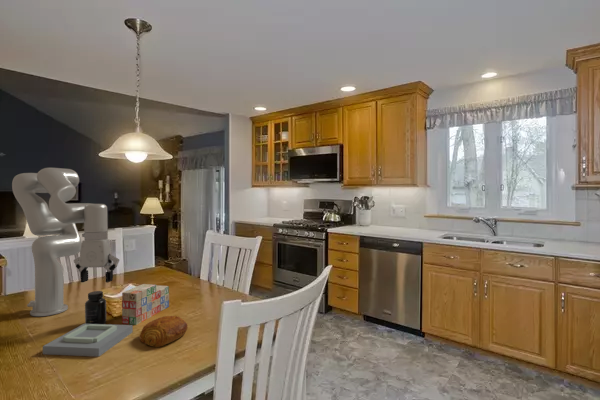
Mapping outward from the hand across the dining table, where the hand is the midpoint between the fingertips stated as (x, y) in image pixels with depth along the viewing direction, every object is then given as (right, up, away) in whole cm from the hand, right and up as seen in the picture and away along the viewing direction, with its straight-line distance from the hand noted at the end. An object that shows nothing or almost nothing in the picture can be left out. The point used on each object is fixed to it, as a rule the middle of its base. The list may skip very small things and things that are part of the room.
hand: (96, 281), depth 125 cm
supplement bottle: (-1, -16, 0) cm, 16 cm away
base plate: (+7, -17, -15) cm, 23 cm away
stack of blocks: (+14, -17, +11) cm, 24 cm away
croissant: (+30, -17, -11) cm, 36 cm away
